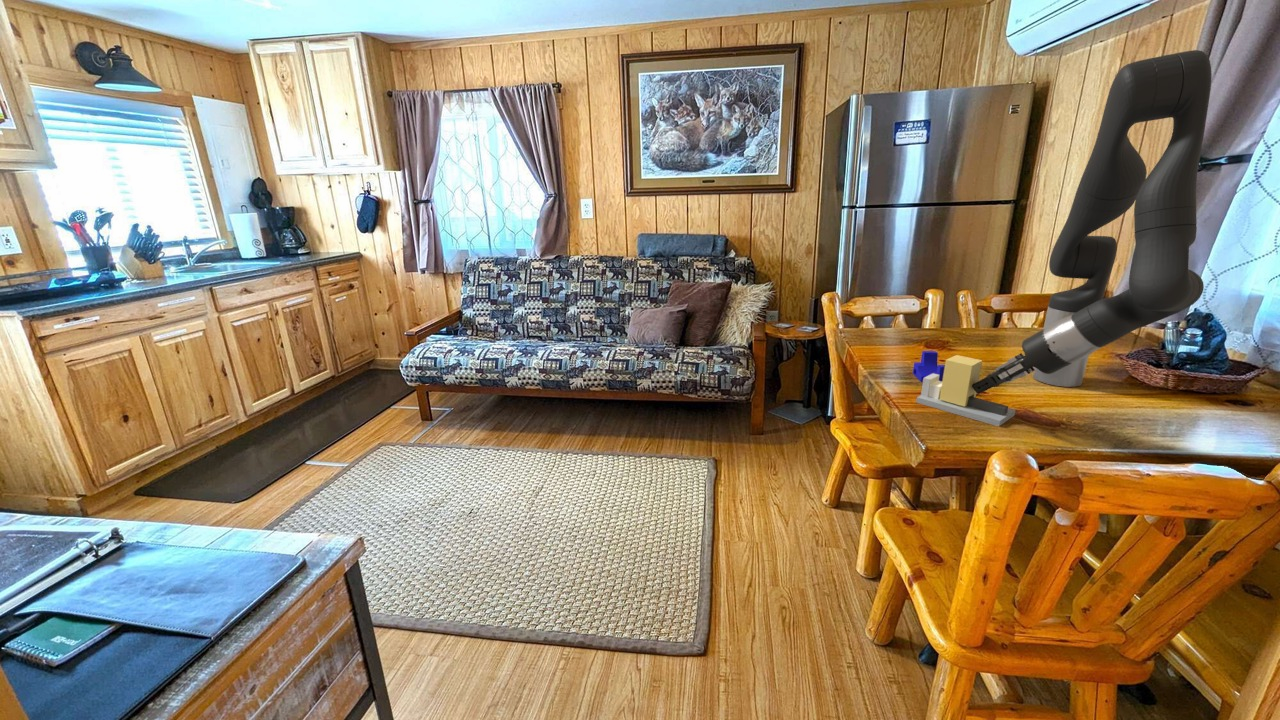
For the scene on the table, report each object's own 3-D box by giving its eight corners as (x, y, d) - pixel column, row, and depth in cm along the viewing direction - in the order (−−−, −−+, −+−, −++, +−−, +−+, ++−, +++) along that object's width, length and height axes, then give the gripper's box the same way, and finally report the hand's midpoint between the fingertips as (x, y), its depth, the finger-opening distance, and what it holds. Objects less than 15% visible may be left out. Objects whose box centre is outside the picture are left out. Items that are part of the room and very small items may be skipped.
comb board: (933, 393, 122) (936, 371, 120) (1014, 415, 110) (1019, 391, 108) (916, 402, 117) (919, 379, 115) (998, 426, 105) (1003, 401, 103)
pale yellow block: (950, 393, 117) (956, 354, 115) (975, 400, 114) (982, 360, 111) (939, 399, 115) (945, 360, 112) (964, 406, 111) (972, 365, 108)
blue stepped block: (912, 373, 134) (915, 350, 133) (932, 374, 134) (935, 351, 132) (929, 391, 123) (933, 366, 121) (950, 392, 123) (955, 367, 121)
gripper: (1058, 321, 103) (977, 366, 116) (1033, 333, 95) (949, 381, 108) (1087, 354, 101) (1000, 396, 114) (1063, 370, 93) (973, 413, 106)
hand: (975, 389), depth 111 cm, fingers closed
